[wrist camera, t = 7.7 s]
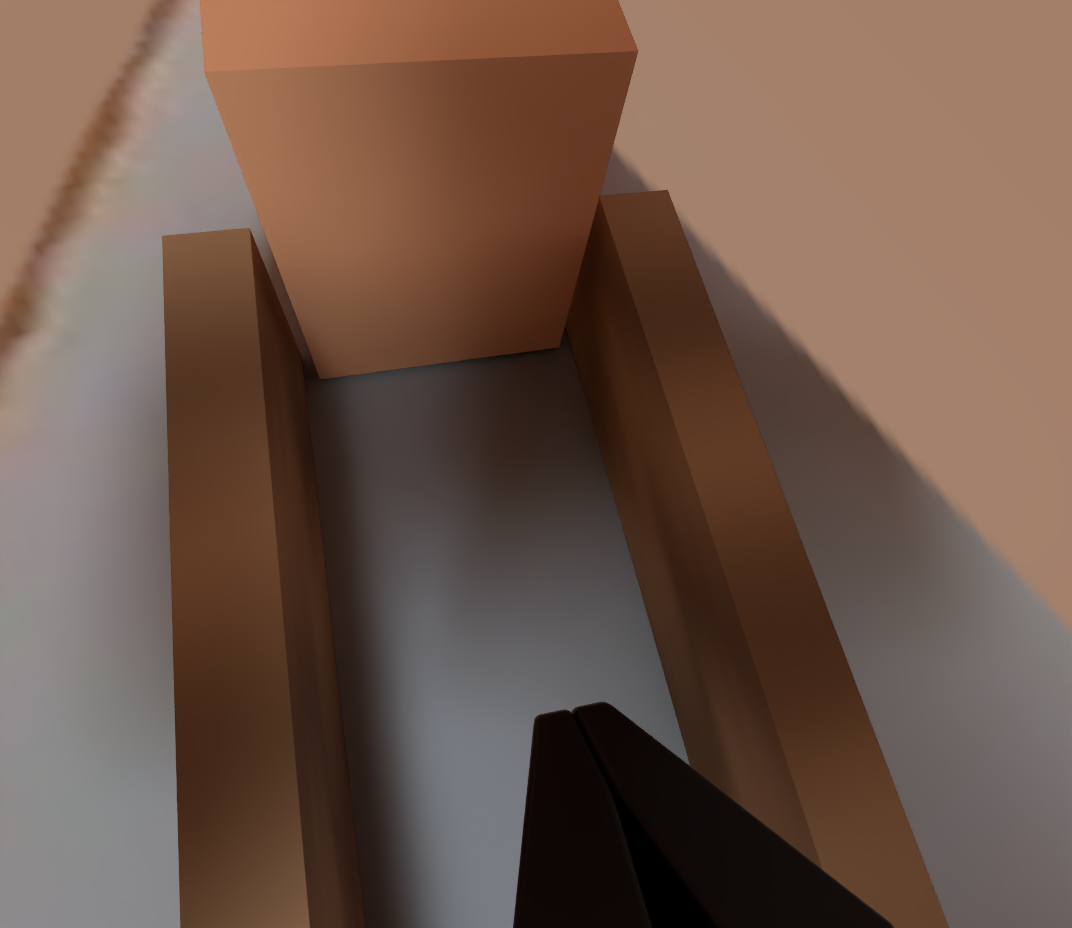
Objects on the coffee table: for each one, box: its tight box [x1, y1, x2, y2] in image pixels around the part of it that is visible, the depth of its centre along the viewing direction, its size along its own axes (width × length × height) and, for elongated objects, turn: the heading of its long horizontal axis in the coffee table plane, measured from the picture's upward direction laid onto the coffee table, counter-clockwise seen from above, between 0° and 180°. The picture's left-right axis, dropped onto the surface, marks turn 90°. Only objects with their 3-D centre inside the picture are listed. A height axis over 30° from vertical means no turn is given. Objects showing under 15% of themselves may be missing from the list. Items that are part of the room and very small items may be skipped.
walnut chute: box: [162, 190, 949, 928], centre depth 12 cm, size 18×10×4 cm, turn 13°
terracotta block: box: [200, 0, 638, 379], centre depth 14 cm, size 6×6×8 cm
